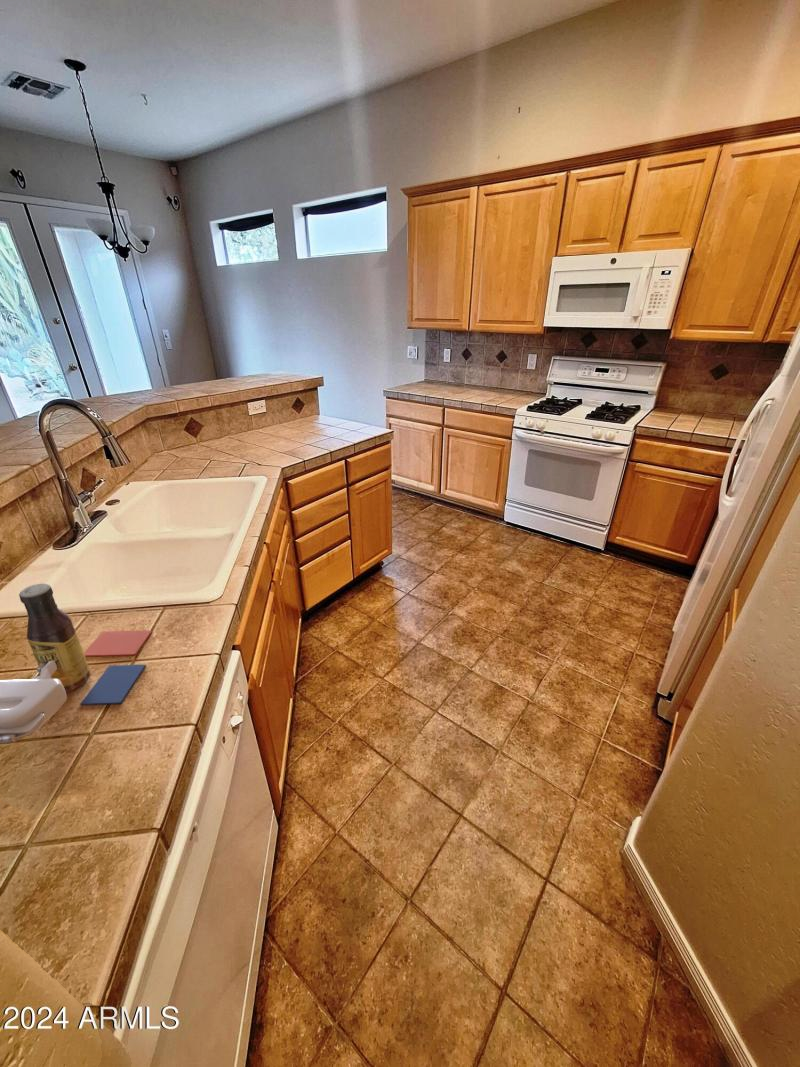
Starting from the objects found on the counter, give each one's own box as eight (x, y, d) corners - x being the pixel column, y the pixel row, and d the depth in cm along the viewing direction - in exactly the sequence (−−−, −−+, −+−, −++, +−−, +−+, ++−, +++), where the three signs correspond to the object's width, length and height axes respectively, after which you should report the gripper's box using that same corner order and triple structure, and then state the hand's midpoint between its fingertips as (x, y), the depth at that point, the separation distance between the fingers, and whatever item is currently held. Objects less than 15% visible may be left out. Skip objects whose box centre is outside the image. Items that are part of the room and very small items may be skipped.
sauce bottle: (41, 689, 75) (-4, 595, 66) (76, 665, 80) (38, 575, 72) (67, 699, 73) (24, 604, 64) (101, 674, 78) (66, 583, 70)
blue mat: (80, 705, 72) (80, 703, 72) (109, 667, 80) (109, 665, 80) (121, 704, 73) (120, 702, 72) (146, 665, 81) (145, 664, 80)
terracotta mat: (81, 657, 82) (81, 655, 82) (102, 632, 89) (102, 631, 89) (135, 655, 83) (135, 654, 83) (152, 631, 89) (152, 630, 89)
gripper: (15, 724, 52) (83, 647, 65) (-166, 730, 51) (-61, 650, 63) (33, 758, 55) (95, 678, 67) (-137, 765, 54) (-43, 682, 66)
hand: (18, 665), depth 65 cm, fingers open, 8 cm apart
